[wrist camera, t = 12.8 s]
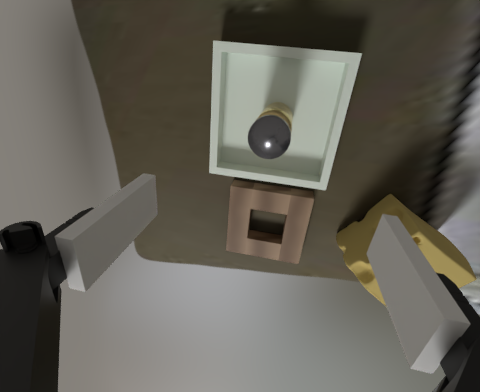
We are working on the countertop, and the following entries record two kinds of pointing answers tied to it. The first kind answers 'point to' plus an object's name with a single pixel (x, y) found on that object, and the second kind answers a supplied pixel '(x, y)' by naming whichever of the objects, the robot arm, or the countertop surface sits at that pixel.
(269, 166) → the tray
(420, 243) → the cheese
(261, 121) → the brown and black cylinder
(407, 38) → the countertop surface
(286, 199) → the pin block
